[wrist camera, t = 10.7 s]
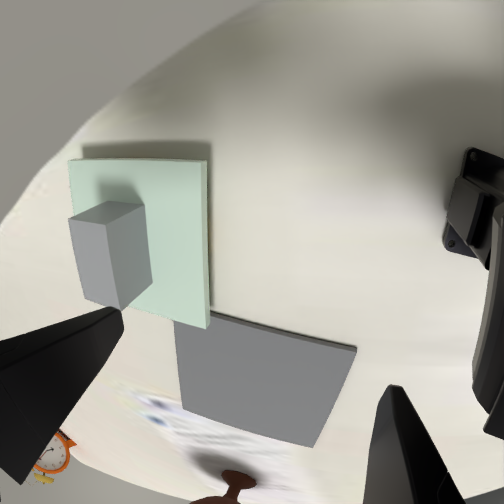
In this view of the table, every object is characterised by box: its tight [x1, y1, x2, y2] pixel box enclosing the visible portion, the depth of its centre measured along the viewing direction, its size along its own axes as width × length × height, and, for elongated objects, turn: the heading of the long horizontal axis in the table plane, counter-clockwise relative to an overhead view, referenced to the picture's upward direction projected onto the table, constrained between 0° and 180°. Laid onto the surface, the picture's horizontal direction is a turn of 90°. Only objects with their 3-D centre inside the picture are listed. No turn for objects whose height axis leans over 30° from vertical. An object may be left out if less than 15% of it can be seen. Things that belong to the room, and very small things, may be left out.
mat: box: [174, 312, 357, 448], centre depth 27 cm, size 15×15×1 cm
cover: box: [68, 158, 210, 329], centre depth 20 cm, size 12×12×5 cm
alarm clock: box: [32, 432, 77, 484], centre depth 54 cm, size 13×6×20 cm, turn 47°
